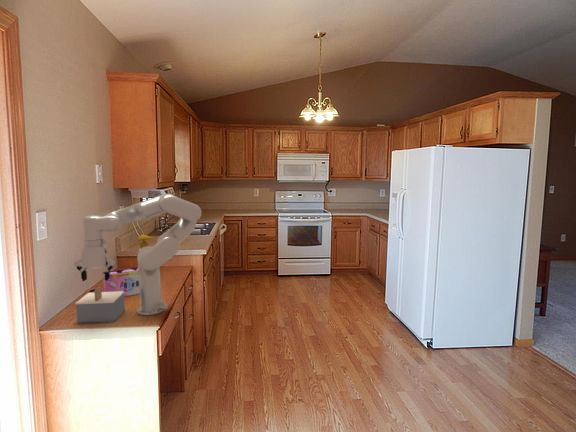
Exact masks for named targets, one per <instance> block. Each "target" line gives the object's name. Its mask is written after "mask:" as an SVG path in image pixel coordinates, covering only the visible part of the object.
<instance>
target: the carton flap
mask: <svg viewBox="0 0 576 432" xmlns="http://www.w3.org/2000/svg"><path fill="white" fill-rule="evenodd" d="M123 293H124V291H117V292H104V291H102V287H101V286H98V287H97V288H95V289H94V290H93V291H92V292H88V293H86V294H85V295H84V296H83V297H81V298H80V299H79V300H78V301H75V302H74V304H75V305H76V304H98V303H114V302H115V301H116V300H117V299H118V298H119V297H120V296H121V295H122V294H123Z"/></svg>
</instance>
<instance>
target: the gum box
mask: <svg viewBox="0 0 576 432" xmlns="http://www.w3.org/2000/svg"><path fill="white" fill-rule="evenodd" d="M105 272H106V271H103V272H102V282H103V283H102V284H103V292H117V291H124V297H128V296H133V295H140V286H139V269H138V266H136V267H129V268H123V269H115V270H110V278H109V279H108V280H107V281H105Z"/></svg>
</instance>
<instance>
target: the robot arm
mask: <svg viewBox="0 0 576 432" xmlns="http://www.w3.org/2000/svg"><path fill="white" fill-rule="evenodd" d="M165 213H167V214H170V215H172V216H175V217H176V218H177V217H178V218H179V220H178V221H177V222H176V223H175V224H174V225H172V227H171V228H169V229H167V230H166V231H165V232H164V233H162V234H161V235H160V236H159V237H157V240H156V243H155V244H154V245H153V246H149V245H148V246H147V247H143V248H142V249H141V250H140V251H139V250H138V253H137V257H136V258H137V267H138V269H139V286H140V294H139V299H140V300H139V301H140V307H139V308H137V313H138V314H139V315H141V316H154V315H157V314H161V313H162V312H164V311H165V310H168V308H169V307H168V306H169V304H168V303H164V300H162V290H161V289H162V287H161V271H160V270H161V269H160V267H162V266H163V265H164V264H165V263H167V262H168V261H169V260H170V259H172V258H173V257H174V256H175V255H177V253H178V252H179V250H180V248H181V243H182V242H183V241H185V240H186V238H188V237H190V235H191V234H192V233H193V231H194V230H195V228H196V225H197V221H198V220H200V219H201V217H202V209H201V207H200V206H199V205H198V204H196V203H193V202H191V201H188V200H185V199H183V198H181V197H178V196H176V195H174V194H171V193H163V194H161V195H158V196H155V197H152V198H150V199H147V200H143V201H141V202H138V203H134V204H132V205H129V206H126V207H123V208H121V209H116V210H114V211H111V212H109V213H107V214H105V215H103V216H101V215H98V214H96V215H95V214H94V215H93V214H92V215H86V216H84V217H83V219H82V222H83V223H82V224H83V239H84V241H83V242H84V245H83V247H82V251H81V258H80V259H79V260H76V261H75V262H74V263H73V264H74V266H75V268H76V269H77V270H78V271H79V273H80V278H81V279H82V280H81V281H82V282H85V281H87V280H88V274H87V273H88V271H86V270H87V269H103V270H104V272H105V281H107V280H108V279H109V278H110V271H112V269H113V268H114V266H115V264H116V261H115V260H113V259H111V258H109V255H108V250H107V249H108V248H107V246H106V244H107V239H106V240H105V239H104V232H107V233H108V232H109V233H113V232H116V231H119V230H120V228H121V226H124V225H127V224H129V223H134V222H137V221H140V222H141V221H147V220H150V219H151V218H154V217H157V216H159V215H163V214H165ZM80 264H81V265H80ZM109 264H110V265H109Z"/></svg>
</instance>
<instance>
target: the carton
mask: <svg viewBox="0 0 576 432" xmlns="http://www.w3.org/2000/svg"><path fill="white" fill-rule="evenodd" d="M75 306H76V307H75V308H76V318H77V319H76V320H77V321H76V322H77V324H95V323H97V324H98V323H115V322H117V320H118V319H119V318H120V317H121V316H122V314H123V313H124V312H125V311H126V308H125V307H126V305H125V296H124V293H123V294H122V295H121V296H120V297H119V298H118V299H117V300H116V301H115V302H114V303H98V304H75Z"/></svg>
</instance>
